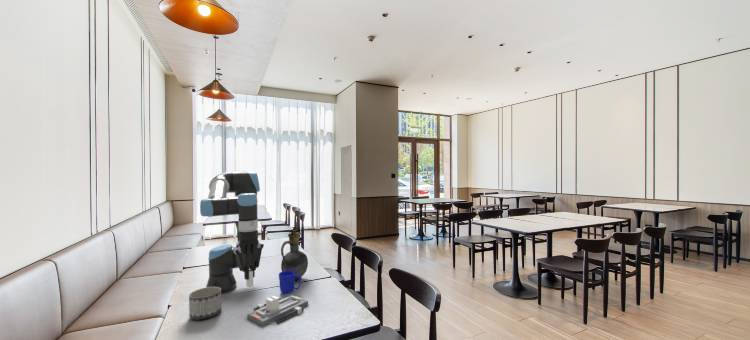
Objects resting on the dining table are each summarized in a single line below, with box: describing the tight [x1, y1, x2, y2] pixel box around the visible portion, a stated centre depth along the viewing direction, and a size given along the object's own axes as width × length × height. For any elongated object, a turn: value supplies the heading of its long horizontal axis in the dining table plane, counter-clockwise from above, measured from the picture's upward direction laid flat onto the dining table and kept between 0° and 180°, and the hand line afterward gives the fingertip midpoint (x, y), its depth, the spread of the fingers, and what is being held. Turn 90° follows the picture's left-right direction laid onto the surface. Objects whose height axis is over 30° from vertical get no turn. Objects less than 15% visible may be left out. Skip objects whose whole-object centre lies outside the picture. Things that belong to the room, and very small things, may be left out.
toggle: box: [265, 295, 280, 312], centre depth 135 cm, size 4×4×5 cm
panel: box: [246, 294, 309, 327], centre depth 138 cm, size 12×24×3 cm, turn 143°
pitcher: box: [280, 229, 309, 283], centre depth 176 cm, size 11×19×30 cm, turn 157°
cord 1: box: [253, 297, 281, 311], centre depth 143 cm, size 3×14×2 cm, turn 143°
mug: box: [278, 271, 302, 295], centre depth 160 cm, size 8×12×10 cm
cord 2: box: [275, 306, 304, 324], centre depth 132 cm, size 3×14×2 cm, turn 143°
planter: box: [188, 286, 223, 321], centre depth 136 cm, size 13×13×10 cm
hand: (249, 286), depth 127 cm, fingers closed
